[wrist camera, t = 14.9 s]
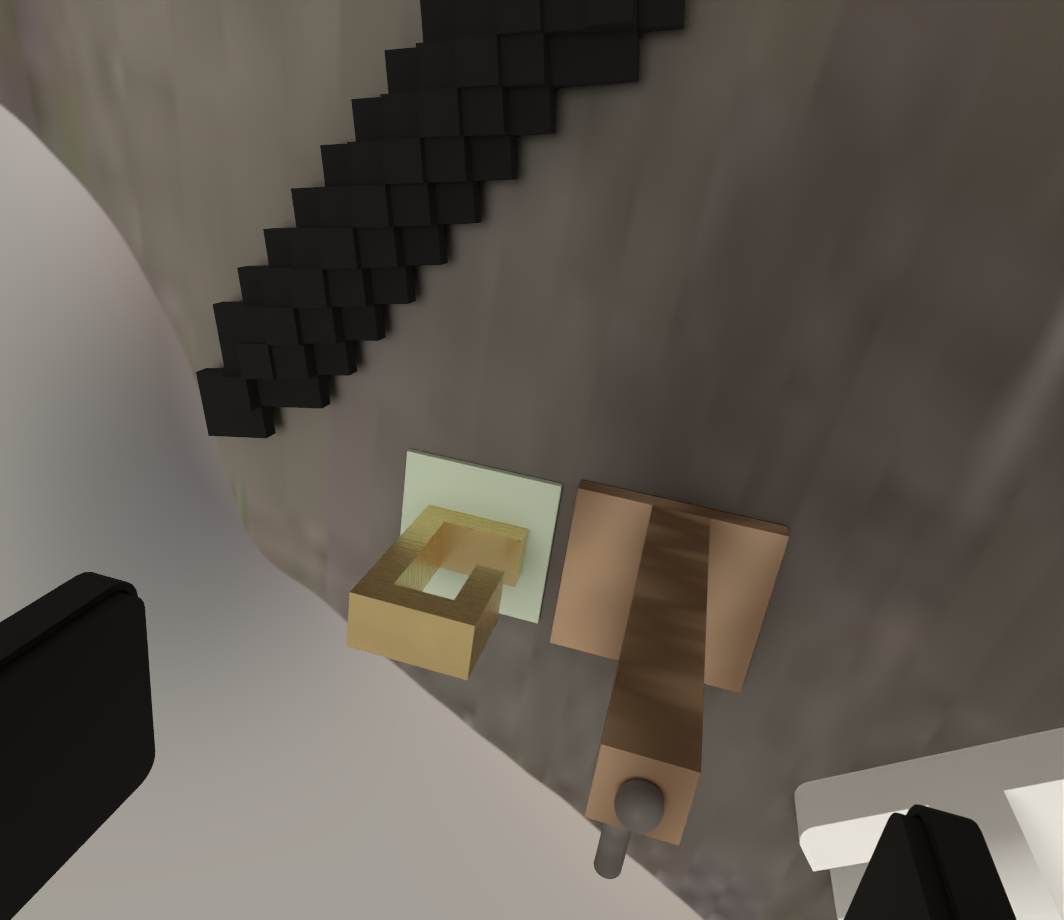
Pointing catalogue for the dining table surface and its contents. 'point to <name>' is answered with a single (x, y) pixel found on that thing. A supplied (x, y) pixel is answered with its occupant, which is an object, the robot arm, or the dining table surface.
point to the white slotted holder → (959, 788)
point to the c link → (429, 620)
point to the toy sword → (407, 188)
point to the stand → (659, 643)
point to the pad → (493, 500)
